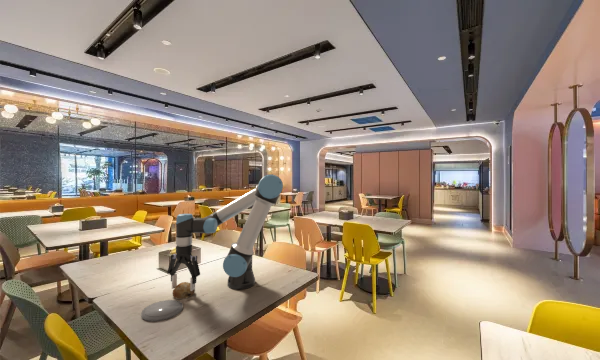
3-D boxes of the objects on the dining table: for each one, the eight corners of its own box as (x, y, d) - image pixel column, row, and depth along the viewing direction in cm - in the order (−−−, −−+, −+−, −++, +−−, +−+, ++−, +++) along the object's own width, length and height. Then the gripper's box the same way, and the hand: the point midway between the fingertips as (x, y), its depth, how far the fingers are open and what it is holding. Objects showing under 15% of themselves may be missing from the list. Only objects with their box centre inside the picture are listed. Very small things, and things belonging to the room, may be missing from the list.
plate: (190, 304, 117) (190, 301, 117) (164, 323, 101) (164, 320, 101) (161, 300, 121) (161, 297, 121) (131, 318, 105) (131, 315, 105)
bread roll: (177, 308, 121) (182, 294, 119) (166, 294, 126) (170, 281, 124) (195, 299, 129) (200, 287, 128) (185, 287, 134) (189, 274, 133)
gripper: (208, 244, 128) (207, 288, 128) (170, 241, 133) (169, 283, 133) (199, 248, 121) (198, 294, 121) (159, 244, 126) (158, 289, 126)
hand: (183, 288), depth 127 cm, fingers closed on bread roll, 10 cm apart
